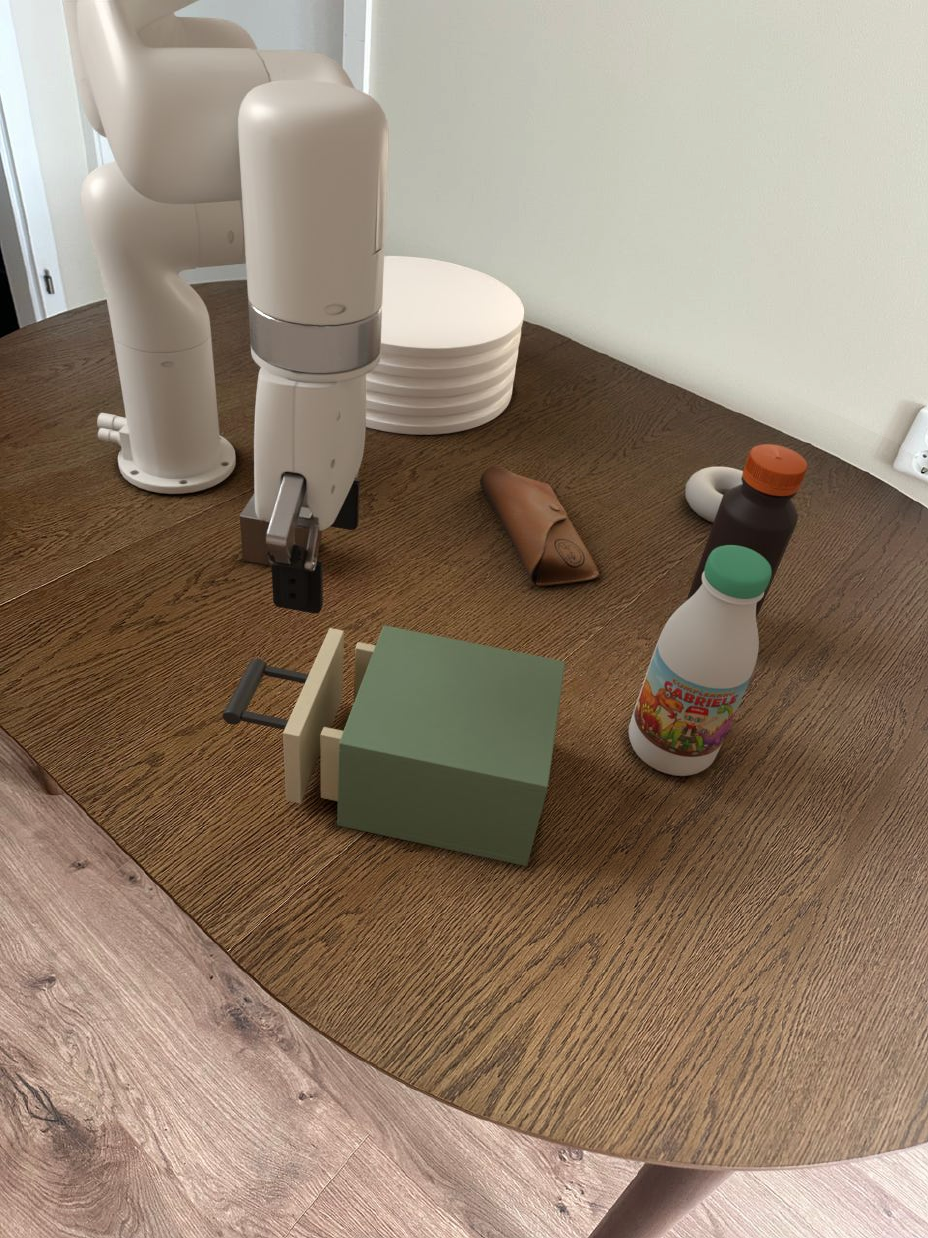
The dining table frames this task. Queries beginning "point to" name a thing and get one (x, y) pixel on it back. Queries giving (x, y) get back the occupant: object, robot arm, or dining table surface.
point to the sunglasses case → (538, 529)
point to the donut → (710, 489)
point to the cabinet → (450, 745)
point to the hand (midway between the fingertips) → (318, 564)
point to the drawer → (306, 713)
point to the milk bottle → (701, 666)
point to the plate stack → (442, 348)
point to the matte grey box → (264, 534)
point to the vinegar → (758, 509)
